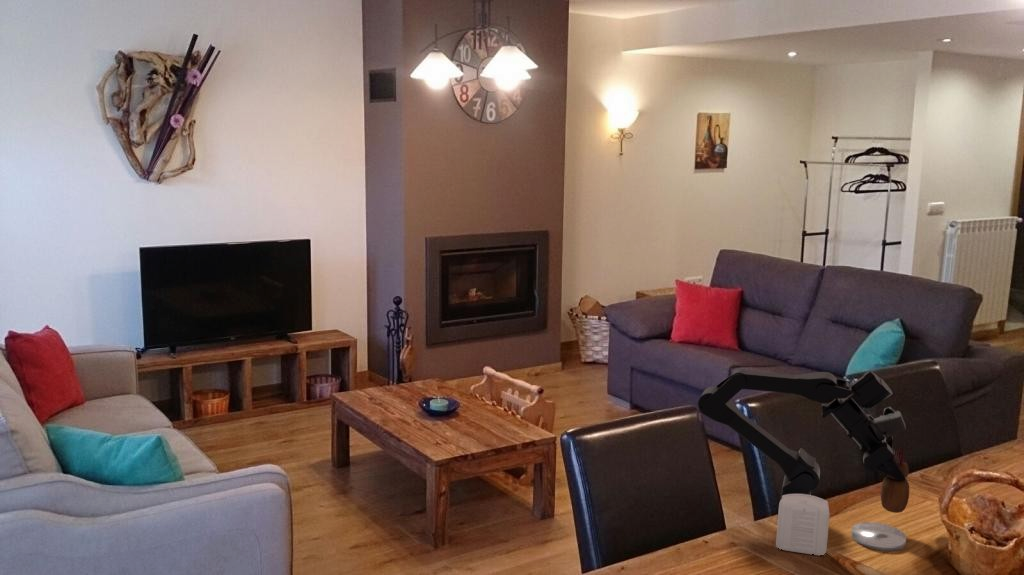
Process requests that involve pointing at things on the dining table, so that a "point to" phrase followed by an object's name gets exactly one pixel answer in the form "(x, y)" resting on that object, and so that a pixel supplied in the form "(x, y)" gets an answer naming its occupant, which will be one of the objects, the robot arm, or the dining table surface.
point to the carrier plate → (878, 536)
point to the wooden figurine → (896, 487)
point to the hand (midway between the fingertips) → (903, 475)
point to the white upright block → (803, 524)
